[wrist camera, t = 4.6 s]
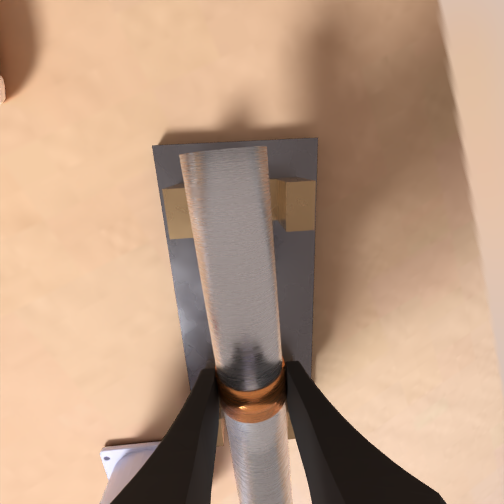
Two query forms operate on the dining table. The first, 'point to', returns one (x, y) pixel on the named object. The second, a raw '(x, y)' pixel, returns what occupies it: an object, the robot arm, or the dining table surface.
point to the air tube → (242, 311)
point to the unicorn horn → (2, 90)
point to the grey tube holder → (285, 248)
